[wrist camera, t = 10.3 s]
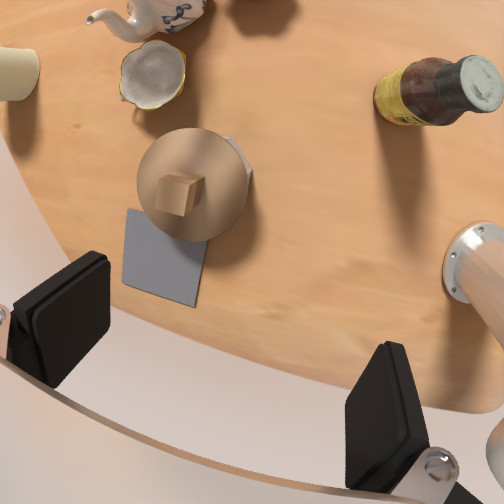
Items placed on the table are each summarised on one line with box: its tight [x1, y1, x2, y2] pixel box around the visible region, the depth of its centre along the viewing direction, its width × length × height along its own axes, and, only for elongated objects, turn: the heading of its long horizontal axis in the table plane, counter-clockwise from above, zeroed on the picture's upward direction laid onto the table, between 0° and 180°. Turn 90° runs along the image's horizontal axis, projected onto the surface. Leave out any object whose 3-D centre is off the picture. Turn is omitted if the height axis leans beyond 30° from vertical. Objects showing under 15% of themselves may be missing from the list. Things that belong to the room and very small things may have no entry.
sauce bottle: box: [373, 55, 504, 126], centre depth 24 cm, size 7×6×20 cm
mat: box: [122, 208, 208, 307], centre depth 45 cm, size 12×12×1 cm
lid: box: [137, 128, 248, 242], centre depth 32 cm, size 12×12×6 cm
